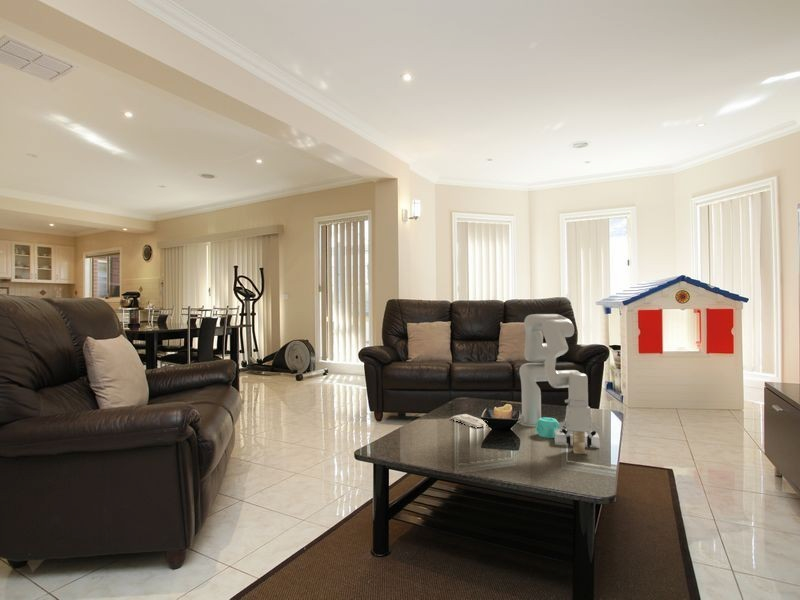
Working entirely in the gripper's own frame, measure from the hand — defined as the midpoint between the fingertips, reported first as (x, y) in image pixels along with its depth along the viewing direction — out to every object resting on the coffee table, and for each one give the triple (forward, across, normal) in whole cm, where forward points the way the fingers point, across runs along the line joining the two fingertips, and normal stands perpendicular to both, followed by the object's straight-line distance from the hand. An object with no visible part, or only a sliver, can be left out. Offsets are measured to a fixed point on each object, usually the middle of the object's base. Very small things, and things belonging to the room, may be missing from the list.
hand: (578, 445), depth 183 cm
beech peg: (+3, 0, 0) cm, 3 cm away
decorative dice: (+4, -12, +22) cm, 25 cm away
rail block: (+3, 0, +13) cm, 13 cm away
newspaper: (+4, -50, +35) cm, 61 cm away
